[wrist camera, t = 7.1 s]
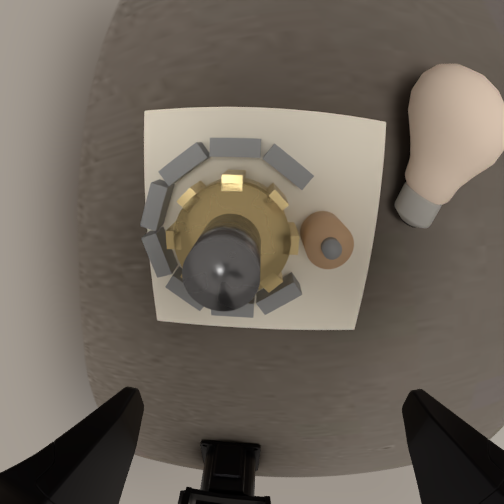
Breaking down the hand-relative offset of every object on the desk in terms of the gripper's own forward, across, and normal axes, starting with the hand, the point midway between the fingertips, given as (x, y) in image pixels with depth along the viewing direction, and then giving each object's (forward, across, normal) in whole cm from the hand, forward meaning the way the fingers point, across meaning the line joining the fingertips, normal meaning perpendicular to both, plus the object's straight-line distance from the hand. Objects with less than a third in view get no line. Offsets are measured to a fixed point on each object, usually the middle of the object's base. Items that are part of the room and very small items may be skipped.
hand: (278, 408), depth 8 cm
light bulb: (+12, -10, -8) cm, 18 cm away
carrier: (+12, +1, -3) cm, 12 cm away
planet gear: (+11, +2, -3) cm, 11 cm away
